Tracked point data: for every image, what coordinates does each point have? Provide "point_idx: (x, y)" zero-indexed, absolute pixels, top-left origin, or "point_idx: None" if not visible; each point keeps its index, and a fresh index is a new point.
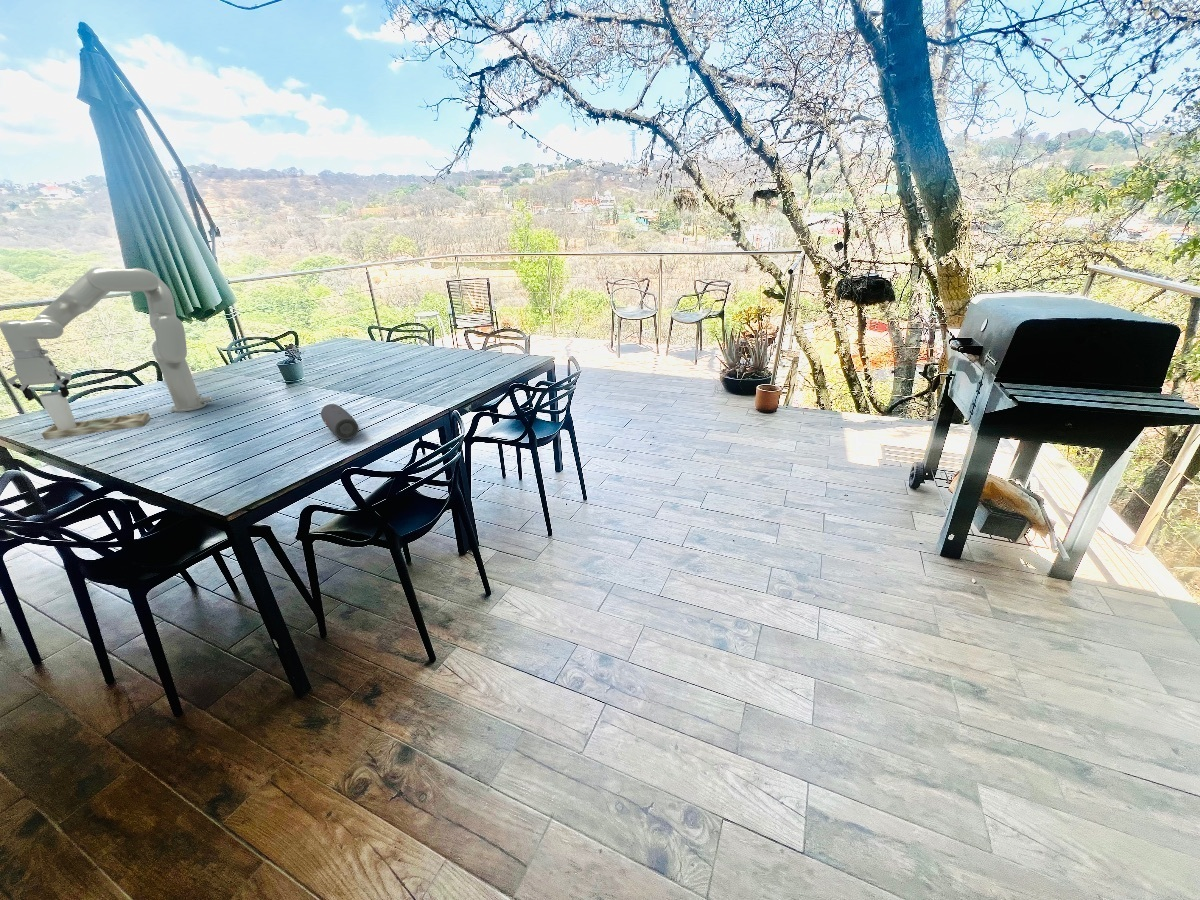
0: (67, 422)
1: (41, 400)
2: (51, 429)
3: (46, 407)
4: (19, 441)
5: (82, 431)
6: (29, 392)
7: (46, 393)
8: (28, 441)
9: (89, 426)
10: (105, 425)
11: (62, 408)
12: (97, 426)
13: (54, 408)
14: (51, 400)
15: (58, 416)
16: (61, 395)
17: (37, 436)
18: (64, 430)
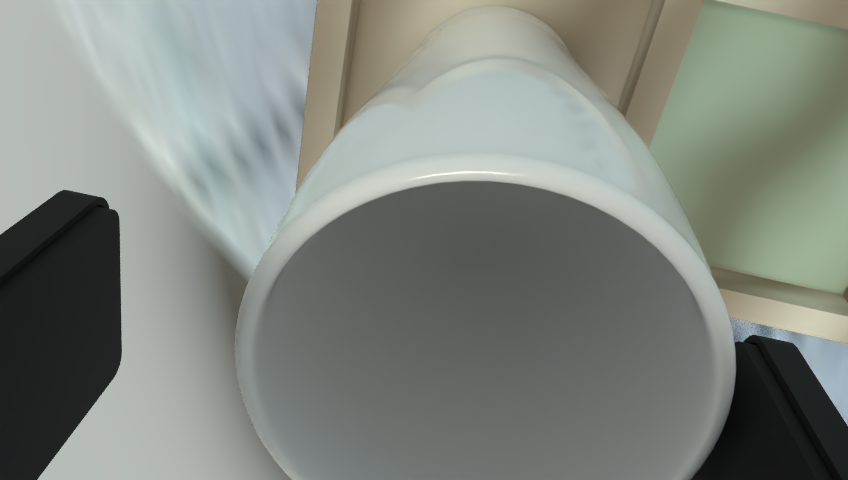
0: (524, 207)
1: (298, 396)
2: (344, 71)
3: (359, 331)
4: (107, 85)
5: None
6: (10, 420)
7: (343, 209)
8: (189, 148)
9: (685, 107)
10: (827, 338)
11: (553, 334)
12: (758, 320)
13: (462, 363)
14: (466, 478)
15: (467, 270)
16: (658, 473)
17: (215, 6)
18: None
